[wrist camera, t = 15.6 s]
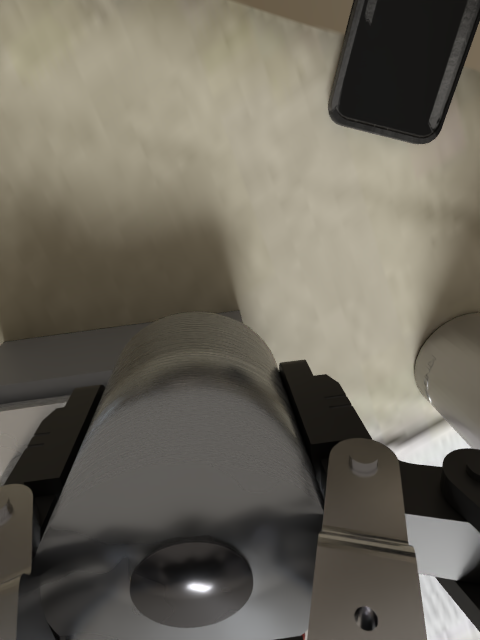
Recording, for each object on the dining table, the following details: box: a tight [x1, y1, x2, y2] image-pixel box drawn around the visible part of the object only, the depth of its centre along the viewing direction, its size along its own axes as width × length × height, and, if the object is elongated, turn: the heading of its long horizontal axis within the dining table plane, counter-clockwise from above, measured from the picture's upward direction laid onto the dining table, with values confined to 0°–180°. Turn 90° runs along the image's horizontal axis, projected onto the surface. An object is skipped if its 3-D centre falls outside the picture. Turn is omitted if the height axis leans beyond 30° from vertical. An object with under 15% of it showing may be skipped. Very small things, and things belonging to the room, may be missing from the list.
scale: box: [0, 310, 242, 405], centre depth 27 cm, size 18×18×16 cm
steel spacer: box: [34, 312, 325, 640], centre depth 9 cm, size 5×5×6 cm
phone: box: [328, 0, 480, 144], centre depth 24 cm, size 8×1×15 cm
